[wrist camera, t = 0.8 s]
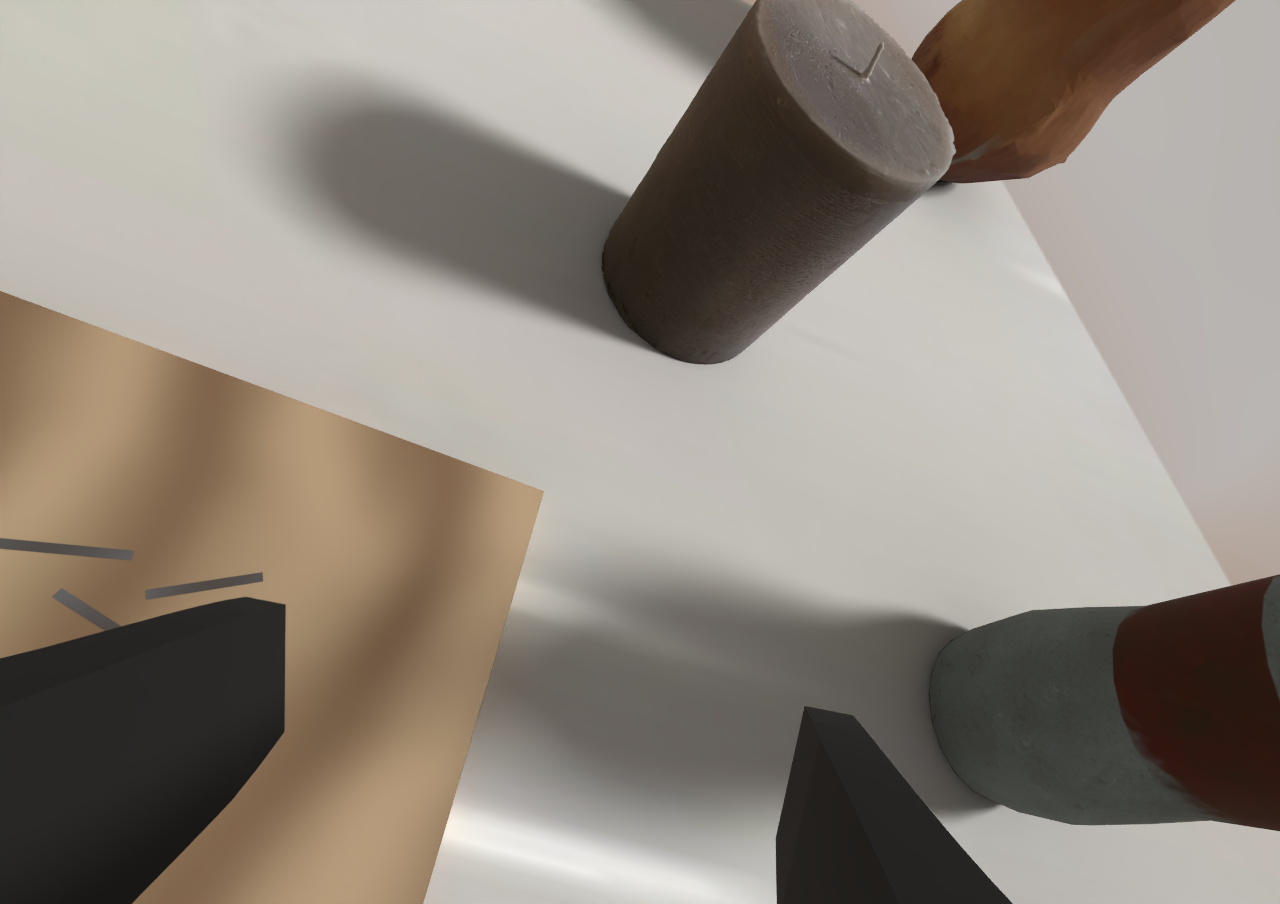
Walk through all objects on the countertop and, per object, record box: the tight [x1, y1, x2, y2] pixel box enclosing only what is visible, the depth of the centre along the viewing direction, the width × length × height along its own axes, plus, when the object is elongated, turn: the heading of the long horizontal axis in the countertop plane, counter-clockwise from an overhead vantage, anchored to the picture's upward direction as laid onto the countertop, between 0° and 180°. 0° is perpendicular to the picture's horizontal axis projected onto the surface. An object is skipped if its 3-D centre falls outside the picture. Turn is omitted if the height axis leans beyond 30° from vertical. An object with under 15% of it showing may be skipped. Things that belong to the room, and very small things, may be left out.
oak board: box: [0, 291, 544, 904], centre depth 19 cm, size 24×16×2 cm, turn 78°
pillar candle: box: [602, 0, 956, 364], centre depth 30 cm, size 10×10×15 cm
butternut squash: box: [911, 0, 1235, 183], centre depth 42 cm, size 14×13×25 cm
